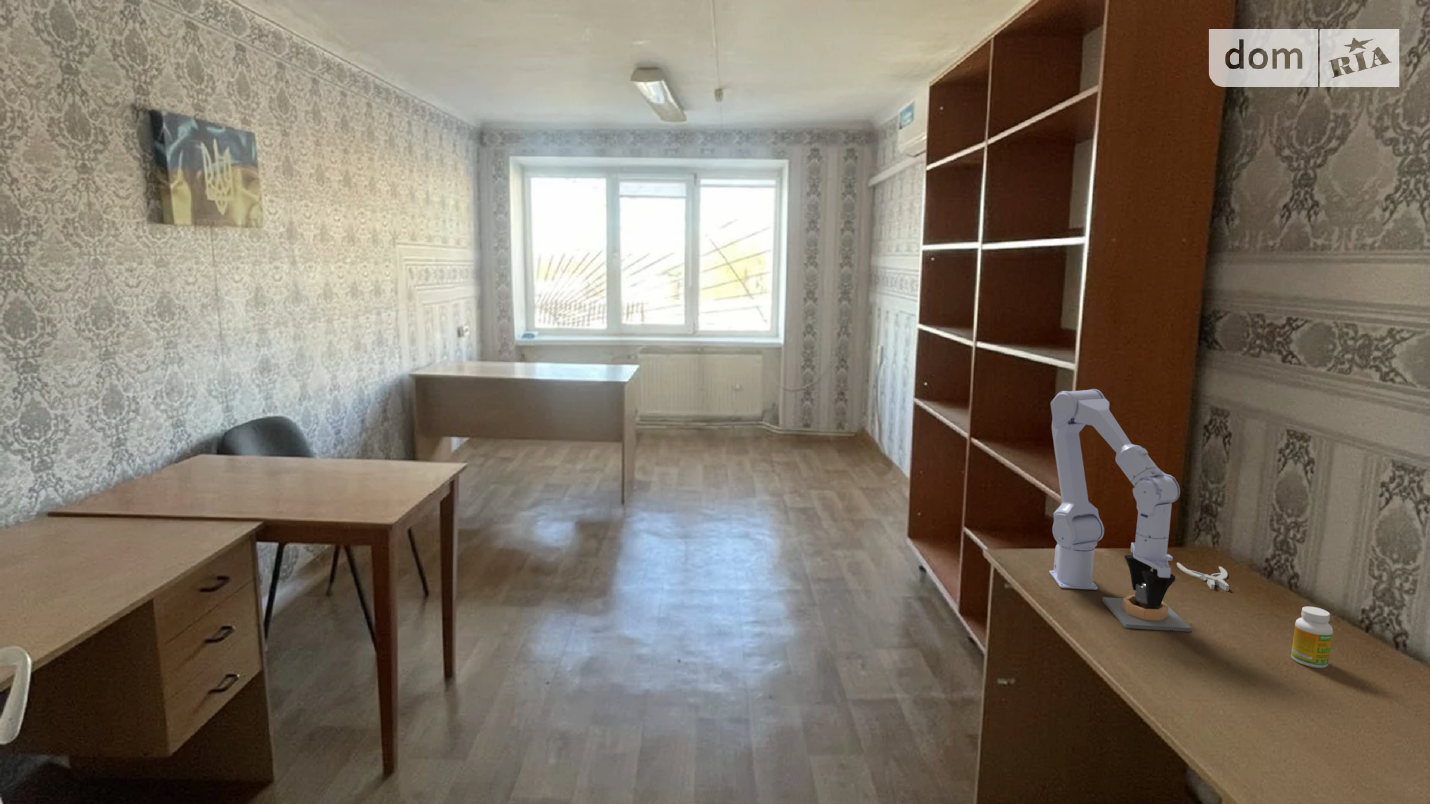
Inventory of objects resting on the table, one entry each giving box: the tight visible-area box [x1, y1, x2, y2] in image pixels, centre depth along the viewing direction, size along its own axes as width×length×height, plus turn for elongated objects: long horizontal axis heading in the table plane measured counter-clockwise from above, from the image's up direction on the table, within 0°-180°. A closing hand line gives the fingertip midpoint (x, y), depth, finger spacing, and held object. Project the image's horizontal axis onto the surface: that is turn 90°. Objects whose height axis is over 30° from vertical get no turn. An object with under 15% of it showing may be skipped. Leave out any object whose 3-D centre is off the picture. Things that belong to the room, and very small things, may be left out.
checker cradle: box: [1102, 594, 1192, 633], centre depth 158 cm, size 13×12×3 cm
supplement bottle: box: [1290, 606, 1334, 669], centre depth 139 cm, size 5×5×10 cm
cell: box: [1134, 582, 1157, 609], centre depth 158 cm, size 4×4×6 cm
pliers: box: [1176, 562, 1230, 592], centre depth 178 cm, size 10×2×15 cm
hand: (1146, 597), depth 158 cm, fingers open, 7 cm apart
